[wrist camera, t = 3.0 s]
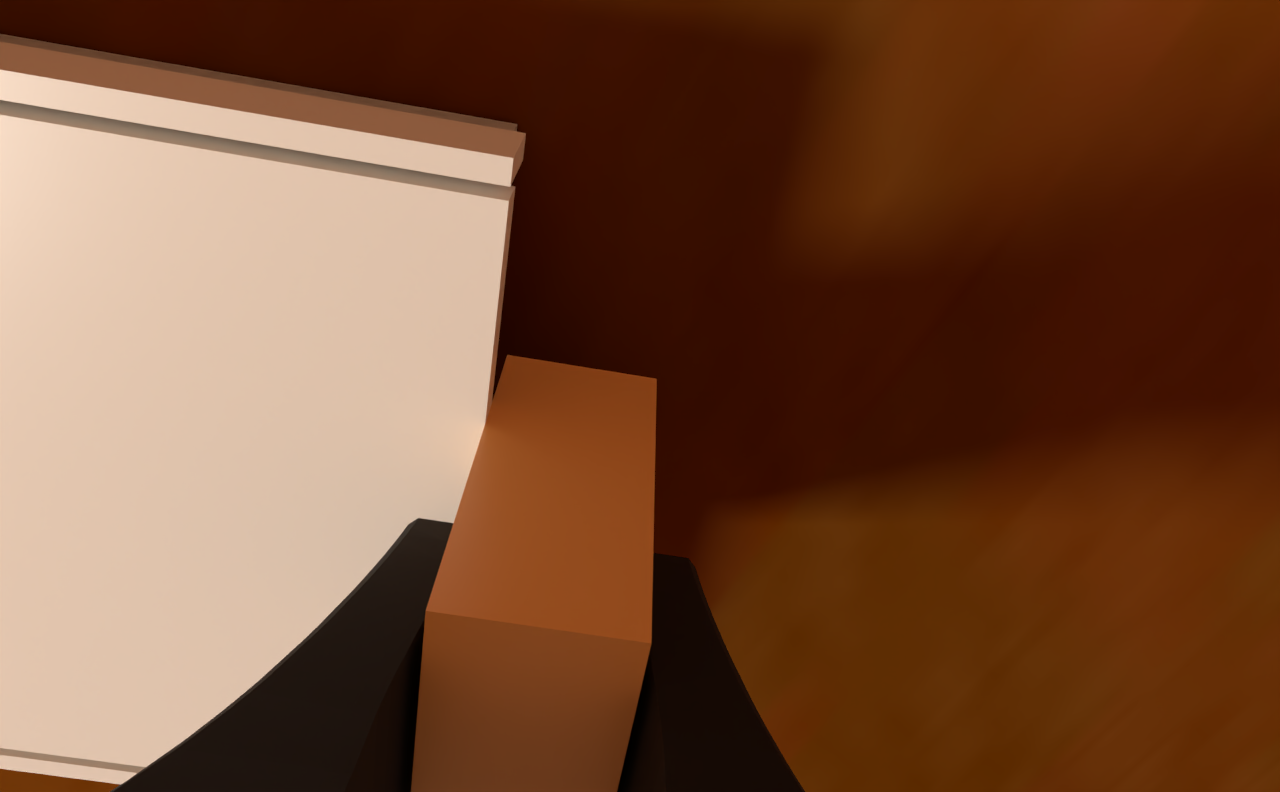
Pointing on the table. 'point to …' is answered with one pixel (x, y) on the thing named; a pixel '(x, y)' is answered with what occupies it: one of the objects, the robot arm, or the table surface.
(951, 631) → the table surface
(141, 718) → the lid
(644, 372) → the table surface
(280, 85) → the tub
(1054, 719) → the table surface
